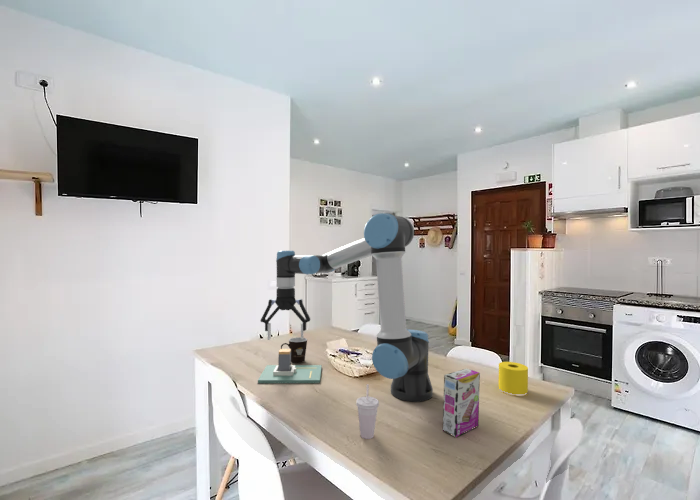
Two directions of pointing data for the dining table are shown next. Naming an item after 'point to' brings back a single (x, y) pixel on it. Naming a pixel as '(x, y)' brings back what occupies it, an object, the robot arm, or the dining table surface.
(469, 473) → the dining table surface
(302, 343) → the coffee mug
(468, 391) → the candy bar box
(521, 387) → the yellow toilet paper roll
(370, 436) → the smoothie
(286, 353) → the plug
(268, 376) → the board
